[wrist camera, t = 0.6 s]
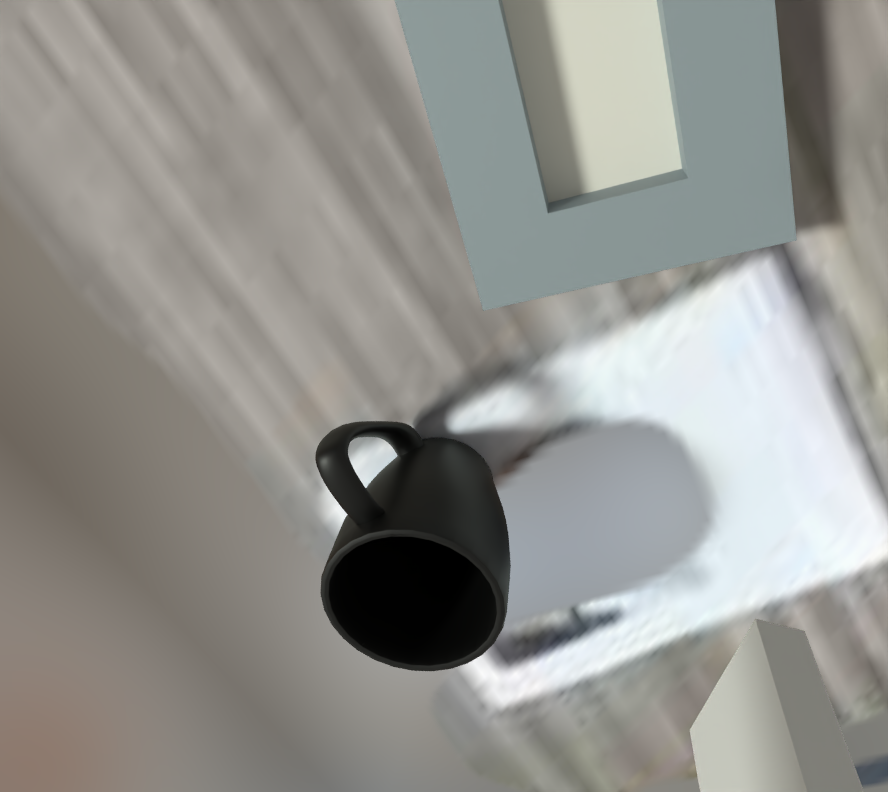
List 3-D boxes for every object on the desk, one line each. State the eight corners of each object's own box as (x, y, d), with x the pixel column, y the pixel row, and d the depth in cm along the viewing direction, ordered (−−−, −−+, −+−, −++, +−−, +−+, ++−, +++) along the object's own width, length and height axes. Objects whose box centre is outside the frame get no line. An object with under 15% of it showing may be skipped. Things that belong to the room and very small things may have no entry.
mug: (449, 329, 37) (416, 429, 29) (541, 518, 41) (535, 651, 33) (307, 383, 39) (239, 489, 31) (408, 555, 44) (372, 688, 36)
